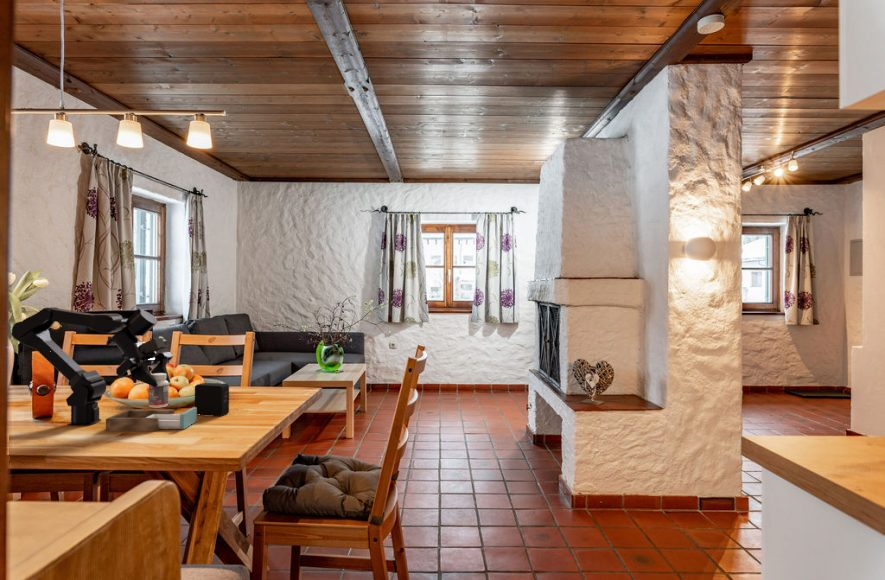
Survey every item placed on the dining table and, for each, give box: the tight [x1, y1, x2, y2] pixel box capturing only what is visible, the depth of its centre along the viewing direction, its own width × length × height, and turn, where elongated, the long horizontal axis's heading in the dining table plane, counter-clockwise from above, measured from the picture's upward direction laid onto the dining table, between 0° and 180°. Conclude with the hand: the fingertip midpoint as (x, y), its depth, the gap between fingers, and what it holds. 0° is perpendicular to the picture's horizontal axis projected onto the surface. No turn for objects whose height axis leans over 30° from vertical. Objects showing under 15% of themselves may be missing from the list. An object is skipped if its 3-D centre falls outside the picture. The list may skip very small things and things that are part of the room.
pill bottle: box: [148, 373, 170, 409], centre depth 166 cm, size 5×5×10 cm
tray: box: [146, 406, 198, 430], centre depth 166 cm, size 13×9×4 cm
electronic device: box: [194, 382, 230, 417], centre depth 181 cm, size 4×10×10 cm, turn 78°
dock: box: [105, 409, 175, 432], centre depth 166 cm, size 14×12×4 cm
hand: (162, 384), depth 166 cm, fingers closed on pill bottle, 5 cm apart
